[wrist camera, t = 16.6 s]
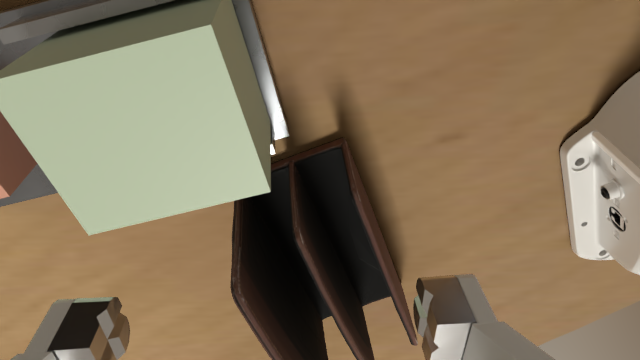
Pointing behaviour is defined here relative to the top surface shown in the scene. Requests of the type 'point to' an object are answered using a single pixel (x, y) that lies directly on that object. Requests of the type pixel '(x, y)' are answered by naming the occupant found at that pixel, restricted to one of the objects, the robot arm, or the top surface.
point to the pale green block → (143, 113)
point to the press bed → (99, 3)
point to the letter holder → (312, 257)
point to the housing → (12, 159)
